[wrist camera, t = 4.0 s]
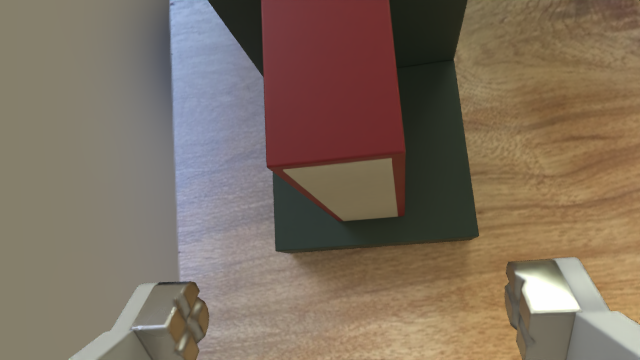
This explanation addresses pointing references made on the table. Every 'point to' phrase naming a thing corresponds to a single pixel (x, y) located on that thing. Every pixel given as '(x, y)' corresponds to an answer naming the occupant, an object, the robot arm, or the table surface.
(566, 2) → the table surface
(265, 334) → the table surface
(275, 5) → the book
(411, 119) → the shelf
